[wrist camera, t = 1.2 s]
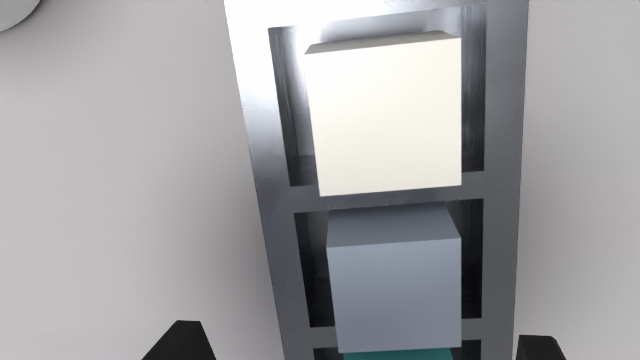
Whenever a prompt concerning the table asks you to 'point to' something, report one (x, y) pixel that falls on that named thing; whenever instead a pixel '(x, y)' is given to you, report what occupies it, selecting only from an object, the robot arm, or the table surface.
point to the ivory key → (386, 112)
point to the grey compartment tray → (313, 210)
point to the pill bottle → (15, 11)
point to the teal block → (402, 354)
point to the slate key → (395, 277)
